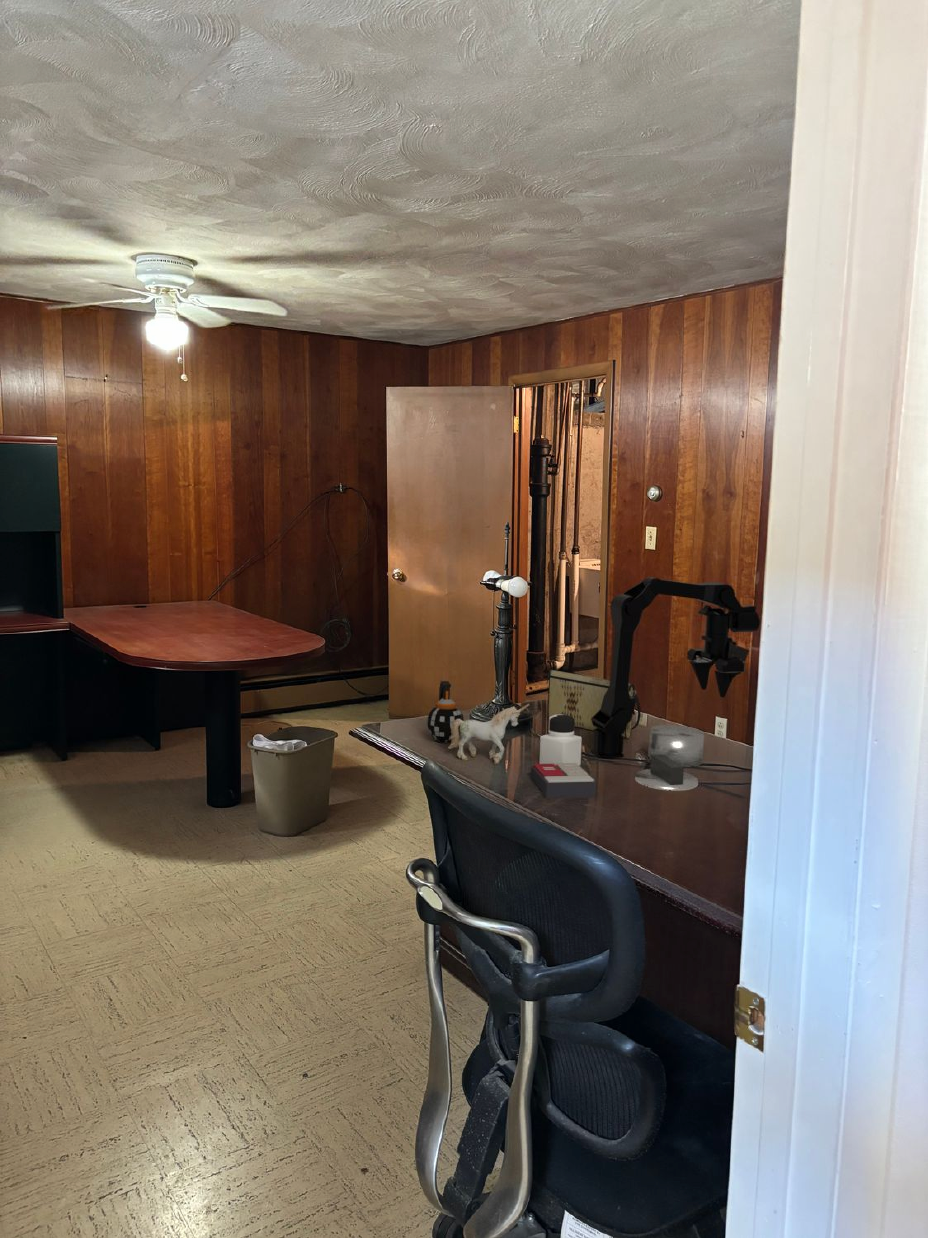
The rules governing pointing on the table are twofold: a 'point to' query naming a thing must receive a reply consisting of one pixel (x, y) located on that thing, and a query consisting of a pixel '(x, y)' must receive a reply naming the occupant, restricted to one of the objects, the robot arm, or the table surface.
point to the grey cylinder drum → (677, 744)
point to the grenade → (443, 715)
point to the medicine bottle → (560, 742)
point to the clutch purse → (581, 698)
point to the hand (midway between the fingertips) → (713, 693)
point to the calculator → (563, 781)
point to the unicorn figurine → (483, 732)
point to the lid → (666, 775)
